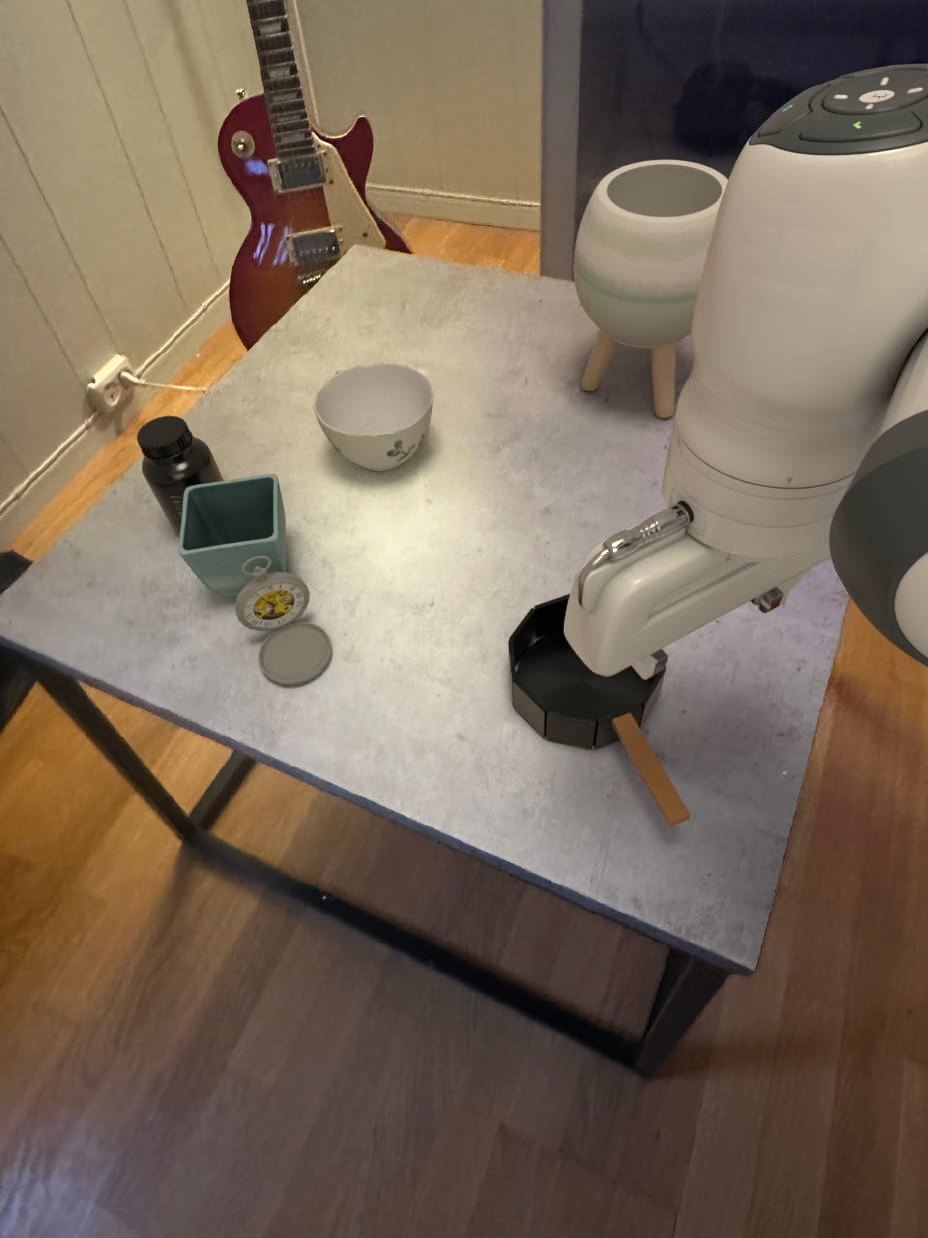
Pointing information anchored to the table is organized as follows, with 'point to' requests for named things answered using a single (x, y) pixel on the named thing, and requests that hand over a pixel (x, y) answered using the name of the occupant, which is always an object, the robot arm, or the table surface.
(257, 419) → the table surface
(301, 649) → the pocket watch
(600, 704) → the saucepan
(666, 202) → the planter
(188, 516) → the flower pot
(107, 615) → the table surface
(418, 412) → the white floral bowl
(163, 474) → the supplement bottle
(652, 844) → the table surface
